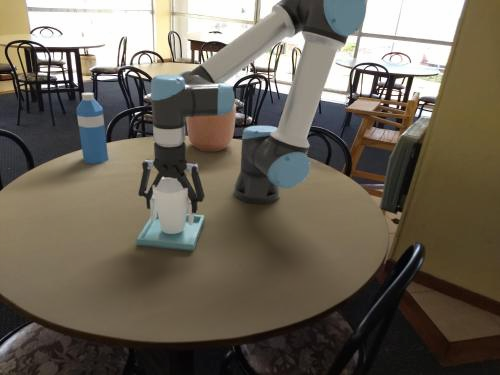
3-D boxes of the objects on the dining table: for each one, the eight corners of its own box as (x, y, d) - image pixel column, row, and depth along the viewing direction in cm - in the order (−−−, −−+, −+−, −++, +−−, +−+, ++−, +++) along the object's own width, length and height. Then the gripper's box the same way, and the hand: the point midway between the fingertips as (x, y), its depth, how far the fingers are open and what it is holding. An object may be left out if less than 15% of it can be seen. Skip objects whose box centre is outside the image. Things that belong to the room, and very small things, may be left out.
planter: (179, 152, 155) (178, 107, 147) (194, 136, 174) (194, 95, 165) (228, 158, 153) (230, 112, 144) (238, 142, 171) (240, 100, 163)
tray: (204, 221, 108) (204, 215, 107) (193, 251, 95) (193, 244, 94) (155, 216, 109) (154, 210, 108) (137, 245, 96) (136, 239, 95)
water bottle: (103, 164, 139) (95, 97, 128) (78, 163, 139) (68, 95, 128) (112, 155, 148) (105, 91, 137) (88, 153, 148) (80, 90, 137)
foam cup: (182, 239, 96) (181, 195, 91) (149, 234, 98) (146, 189, 92) (194, 221, 105) (194, 179, 99) (163, 216, 106) (161, 174, 100)
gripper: (217, 140, 93) (215, 217, 103) (130, 133, 94) (137, 209, 104) (212, 151, 87) (210, 232, 97) (118, 143, 88) (127, 224, 98)
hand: (172, 220), depth 100 cm, fingers closed on foam cup, 9 cm apart
